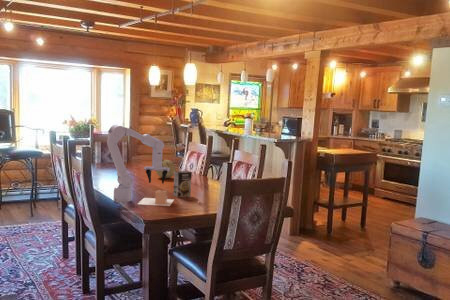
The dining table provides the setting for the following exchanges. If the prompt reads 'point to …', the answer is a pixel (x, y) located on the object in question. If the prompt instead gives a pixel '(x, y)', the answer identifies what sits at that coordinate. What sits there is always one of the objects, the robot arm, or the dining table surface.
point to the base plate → (152, 202)
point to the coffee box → (182, 183)
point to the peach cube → (161, 197)
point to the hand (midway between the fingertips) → (156, 182)
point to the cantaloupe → (167, 165)
